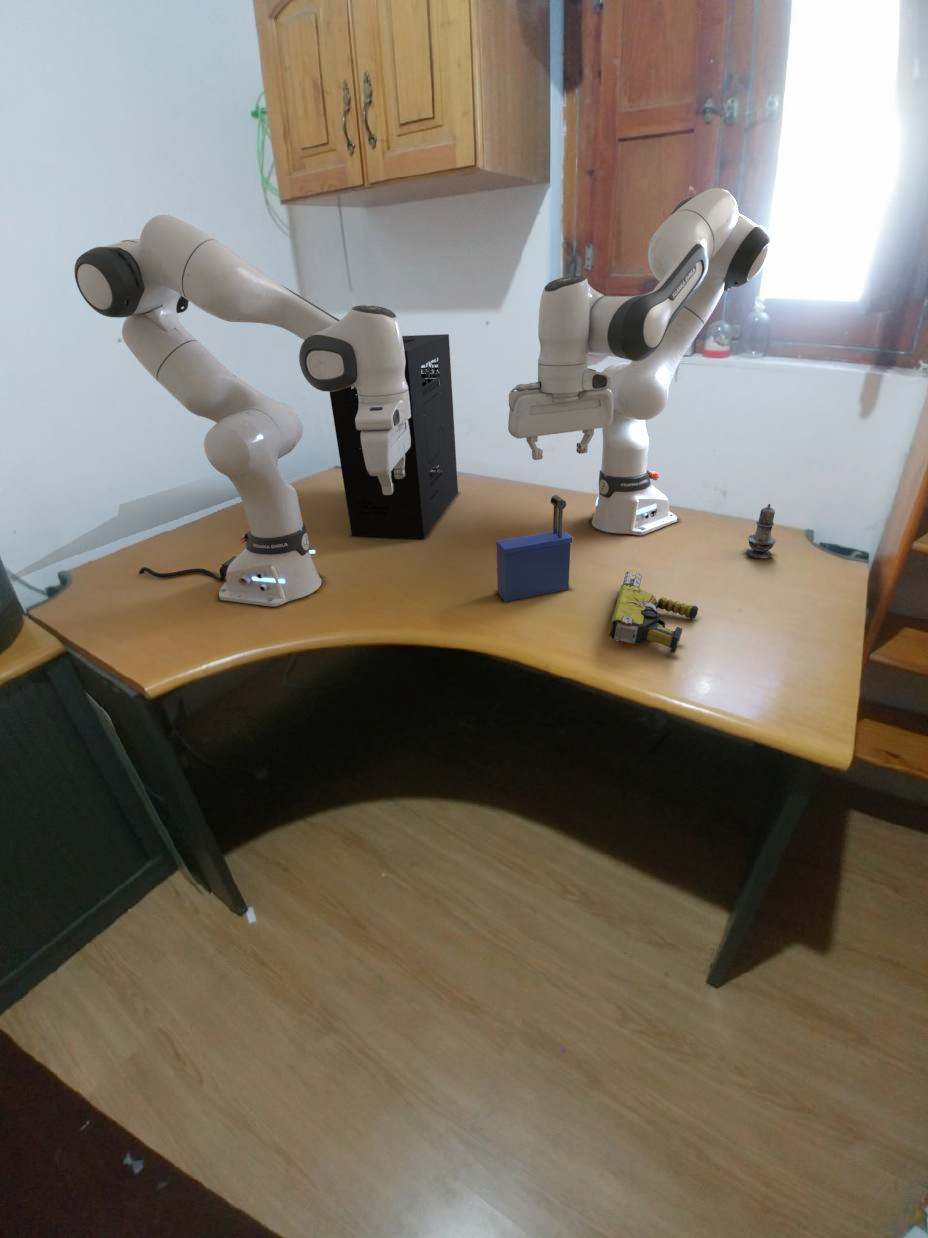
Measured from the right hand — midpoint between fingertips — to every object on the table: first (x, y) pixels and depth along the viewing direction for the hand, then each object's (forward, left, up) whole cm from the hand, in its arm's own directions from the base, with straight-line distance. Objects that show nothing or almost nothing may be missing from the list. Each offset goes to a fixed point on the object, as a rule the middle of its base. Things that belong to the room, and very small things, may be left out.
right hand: (559, 455), depth 116 cm
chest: (+5, -1, -28) cm, 29 cm away
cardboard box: (+11, -61, -28) cm, 68 cm away
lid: (+5, -1, -18) cm, 18 cm away
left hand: (+31, -8, -2) cm, 32 cm away
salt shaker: (-49, +10, -28) cm, 57 cm away
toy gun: (-9, +22, -28) cm, 37 cm away
